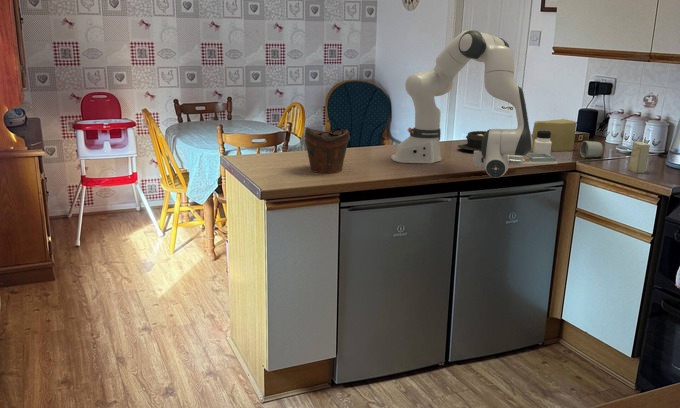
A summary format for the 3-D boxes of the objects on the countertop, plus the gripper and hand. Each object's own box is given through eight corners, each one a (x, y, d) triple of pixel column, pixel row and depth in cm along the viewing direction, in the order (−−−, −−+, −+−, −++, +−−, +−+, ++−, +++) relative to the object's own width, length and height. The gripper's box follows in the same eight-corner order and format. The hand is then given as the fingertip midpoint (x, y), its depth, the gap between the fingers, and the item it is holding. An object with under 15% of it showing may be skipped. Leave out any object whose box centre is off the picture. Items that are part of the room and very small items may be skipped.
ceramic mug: (603, 158, 284) (605, 142, 282) (586, 158, 283) (588, 142, 281) (591, 154, 294) (593, 138, 292) (575, 154, 293) (577, 138, 291)
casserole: (469, 155, 287) (471, 137, 285) (450, 148, 304) (451, 131, 302) (515, 152, 295) (517, 135, 293) (494, 145, 312) (495, 129, 310)
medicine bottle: (550, 157, 285) (553, 132, 281) (534, 157, 286) (537, 131, 283) (548, 154, 291) (551, 129, 288) (533, 154, 293) (535, 129, 289)
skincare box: (628, 169, 263) (632, 141, 259) (638, 169, 263) (642, 141, 259) (636, 173, 256) (640, 144, 253) (646, 173, 257) (650, 144, 253)
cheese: (537, 154, 292) (540, 123, 288) (524, 150, 301) (527, 120, 297) (574, 151, 301) (577, 120, 296) (560, 147, 309) (563, 118, 305)
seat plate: (505, 164, 270) (505, 158, 269) (495, 158, 282) (495, 153, 281) (557, 163, 272) (558, 158, 271) (545, 157, 284) (546, 152, 284)
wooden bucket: (359, 169, 256) (359, 126, 251) (324, 177, 242) (324, 132, 238) (330, 163, 268) (330, 122, 263) (295, 170, 255) (294, 127, 250)
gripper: (525, 154, 239) (526, 147, 252) (472, 150, 245) (475, 145, 258) (524, 169, 241) (524, 162, 254) (471, 166, 246) (474, 159, 259)
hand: (499, 153), depth 256 cm, fingers open, 8 cm apart
